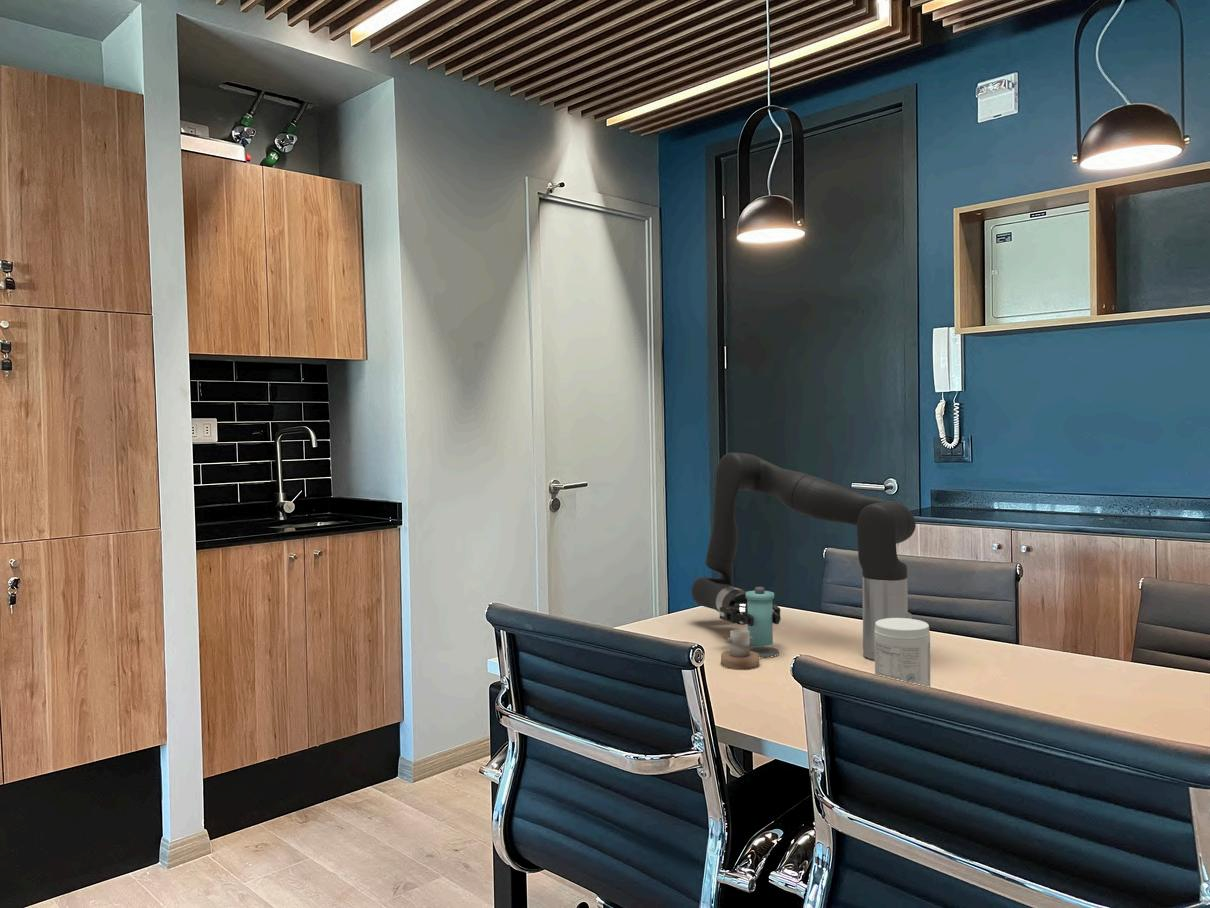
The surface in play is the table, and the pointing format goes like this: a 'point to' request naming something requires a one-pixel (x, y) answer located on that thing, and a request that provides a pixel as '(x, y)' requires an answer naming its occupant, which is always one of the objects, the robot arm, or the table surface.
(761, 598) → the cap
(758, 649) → the pad
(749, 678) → the table surface
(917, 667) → the supplement tub
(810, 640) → the table surface
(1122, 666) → the table surface
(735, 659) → the post
